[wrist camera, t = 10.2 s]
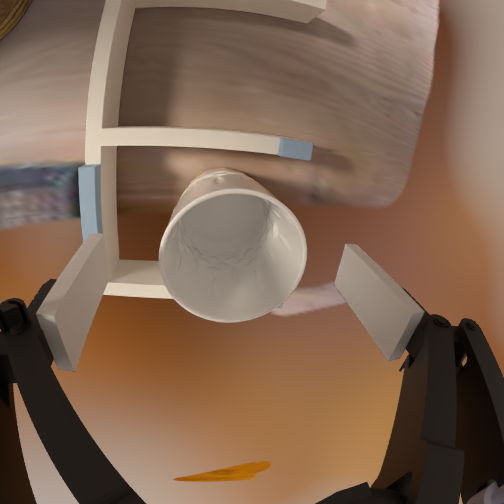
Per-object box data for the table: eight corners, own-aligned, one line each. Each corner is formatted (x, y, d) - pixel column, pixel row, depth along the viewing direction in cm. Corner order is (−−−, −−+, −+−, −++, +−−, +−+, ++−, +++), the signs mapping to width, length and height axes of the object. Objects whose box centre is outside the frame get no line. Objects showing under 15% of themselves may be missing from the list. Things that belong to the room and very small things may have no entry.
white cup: (165, 238, 24) (149, 309, 15) (187, 149, 21) (177, 170, 12) (251, 257, 26) (277, 330, 18) (280, 175, 23) (329, 213, 15)
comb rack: (109, 269, 25) (93, 302, 20) (124, -2, 14) (107, -26, 10) (268, 276, 28) (282, 309, 23) (308, 12, 17) (333, -8, 13)
